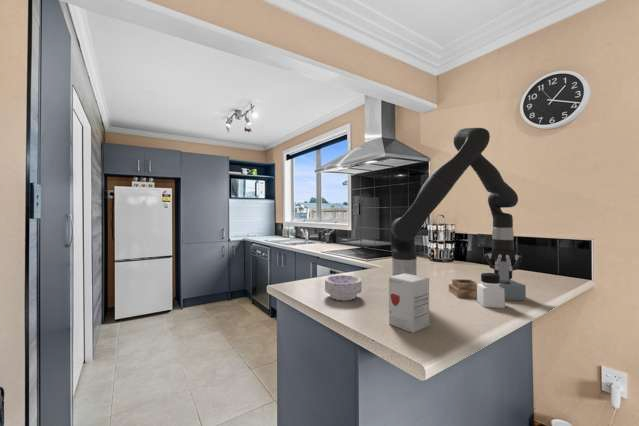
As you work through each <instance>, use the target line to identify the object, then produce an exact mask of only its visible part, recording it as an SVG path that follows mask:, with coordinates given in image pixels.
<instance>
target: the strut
mask: <svg viewBox="0 0 639 426" xmlns="http://www.w3.org/2000/svg"><path fill="white" fill-rule="evenodd" d="M498 275H499V276H500V284H509V262H506V261H498Z"/></svg>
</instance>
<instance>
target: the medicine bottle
mask: <svg viewBox="0 0 639 426" xmlns="http://www.w3.org/2000/svg"><path fill="white" fill-rule="evenodd" d="M499 285H500V276H499V275H498V274H496V273H494V272H488V271H487V272H482V273H481V274H480V283H478V284H477V298H476V300H477V303H479V305H480V306H482V307H484V308H492V309H505V308H506V300H505V289H504V288H502V287H500V286H499Z"/></svg>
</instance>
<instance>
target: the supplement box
mask: <svg viewBox="0 0 639 426" xmlns="http://www.w3.org/2000/svg"><path fill="white" fill-rule="evenodd" d="M388 324H389V325H391V326H394V327H397V328H399V329H402V330H404V331H407V332H410V333H412V334H414V333H416V332H418V331H420V330H423V329H425V328H427V327H429V326H430V277H427V276H421V275H411V274H406V273H404V274H400V275H395V276H392V275H391V276H388Z"/></svg>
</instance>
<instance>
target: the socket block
mask: <svg viewBox="0 0 639 426" xmlns="http://www.w3.org/2000/svg"><path fill="white" fill-rule="evenodd" d="M477 284H479V283H478V282H476V281H474V280H472V279H468V278H467V279H466V278H465V279H464V278H463V279H460V278H459V279H455V278H452V279H451V283H448V292H449V293H451V294H452V295H453V296H454V297H456V298H469V299H471V298H472V299H474V298H475V299H477Z"/></svg>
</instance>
